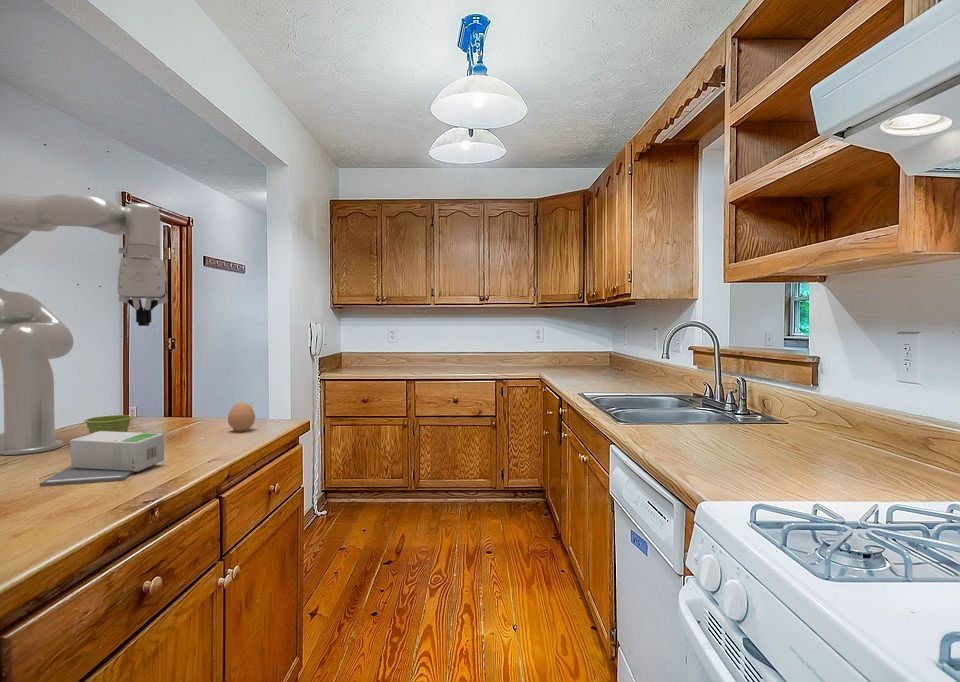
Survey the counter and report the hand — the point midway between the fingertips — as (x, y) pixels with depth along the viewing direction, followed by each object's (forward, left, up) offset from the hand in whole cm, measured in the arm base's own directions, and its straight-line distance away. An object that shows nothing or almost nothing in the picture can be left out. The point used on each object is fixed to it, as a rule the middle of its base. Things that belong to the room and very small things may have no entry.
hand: (143, 325), depth 134 cm
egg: (+21, +15, -31) cm, 41 cm away
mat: (-2, -26, -31) cm, 41 cm away
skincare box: (+8, -25, -27) cm, 38 cm away
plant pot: (-6, -6, -31) cm, 32 cm away
